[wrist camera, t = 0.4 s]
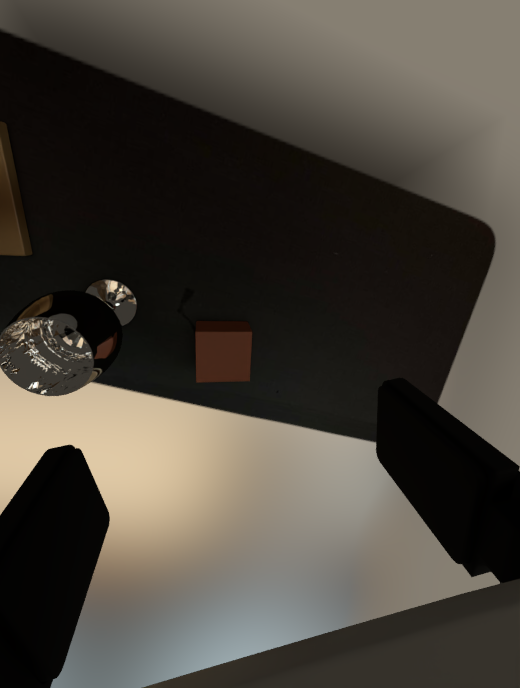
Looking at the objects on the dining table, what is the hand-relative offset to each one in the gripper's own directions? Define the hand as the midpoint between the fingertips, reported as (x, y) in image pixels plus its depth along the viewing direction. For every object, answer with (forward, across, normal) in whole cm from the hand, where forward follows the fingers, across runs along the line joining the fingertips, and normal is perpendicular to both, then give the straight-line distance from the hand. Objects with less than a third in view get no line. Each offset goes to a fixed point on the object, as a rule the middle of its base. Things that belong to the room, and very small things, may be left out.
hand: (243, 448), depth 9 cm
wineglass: (+21, +10, -1) cm, 23 cm away
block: (+21, 0, +4) cm, 21 cm away
